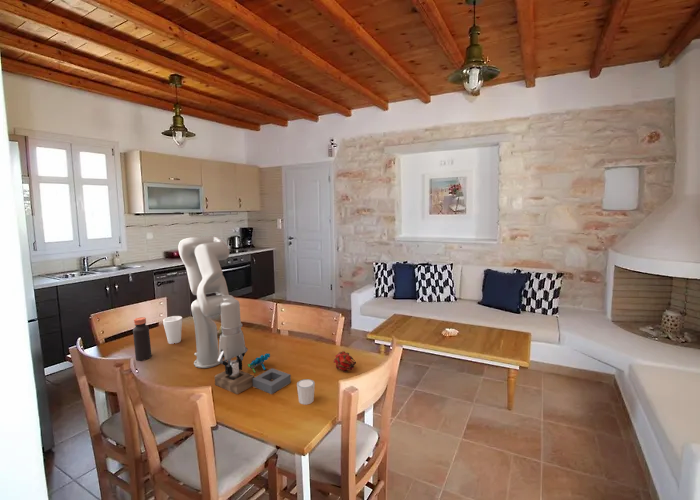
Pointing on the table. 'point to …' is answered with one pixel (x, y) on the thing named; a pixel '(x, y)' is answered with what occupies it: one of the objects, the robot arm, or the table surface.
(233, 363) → the axle
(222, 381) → the brown rectangular frame
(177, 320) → the foam cup
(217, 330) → the ceramic sculpture
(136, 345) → the bottle
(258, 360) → the gear
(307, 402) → the white fluted cup
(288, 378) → the socket block
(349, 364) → the dragon fruit
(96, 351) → the table surface
